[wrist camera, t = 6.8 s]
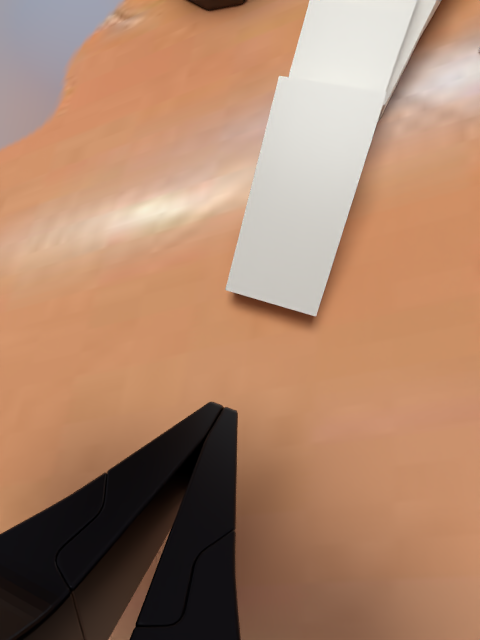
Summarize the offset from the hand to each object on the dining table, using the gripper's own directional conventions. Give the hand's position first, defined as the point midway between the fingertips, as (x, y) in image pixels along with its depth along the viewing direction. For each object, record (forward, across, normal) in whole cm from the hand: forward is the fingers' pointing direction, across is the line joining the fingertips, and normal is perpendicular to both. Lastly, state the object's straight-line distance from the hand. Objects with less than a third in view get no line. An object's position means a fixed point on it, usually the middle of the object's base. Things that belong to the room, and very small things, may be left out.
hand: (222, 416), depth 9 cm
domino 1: (+10, +1, +1) cm, 10 cm away
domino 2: (+14, +1, -2) cm, 14 cm away
